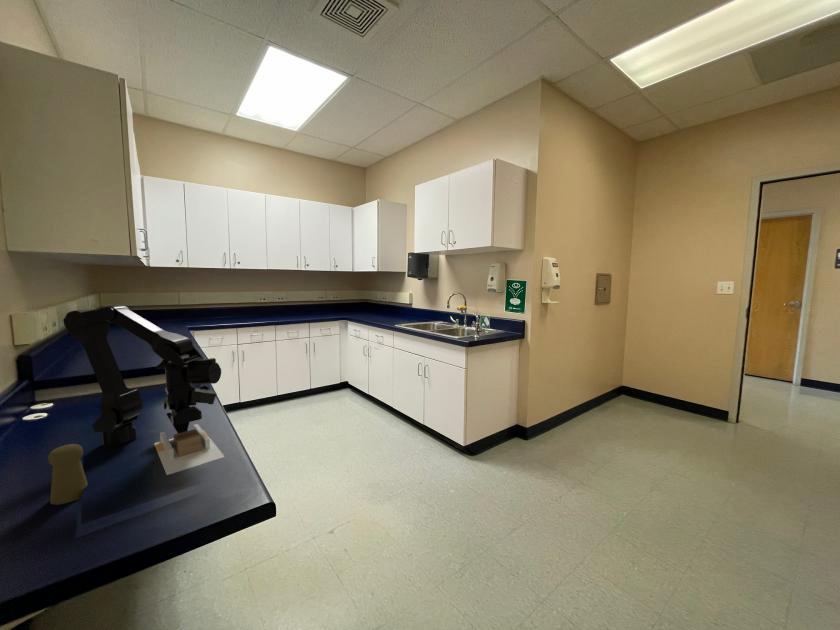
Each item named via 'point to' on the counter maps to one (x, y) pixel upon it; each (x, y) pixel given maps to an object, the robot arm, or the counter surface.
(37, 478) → the counter surface
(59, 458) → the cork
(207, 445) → the white mounting bracket
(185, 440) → the walnut block
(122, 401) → the robot arm
